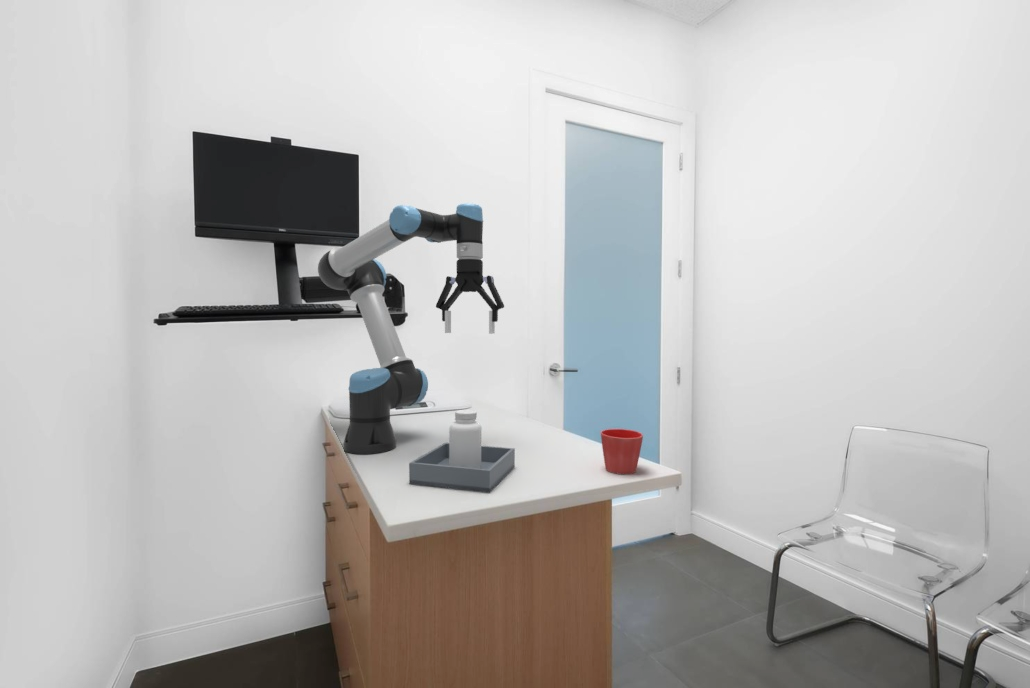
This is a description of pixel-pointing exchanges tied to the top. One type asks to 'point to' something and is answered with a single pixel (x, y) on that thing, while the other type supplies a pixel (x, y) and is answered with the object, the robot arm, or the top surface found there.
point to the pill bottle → (465, 440)
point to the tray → (462, 469)
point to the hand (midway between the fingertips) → (469, 333)
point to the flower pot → (621, 450)
